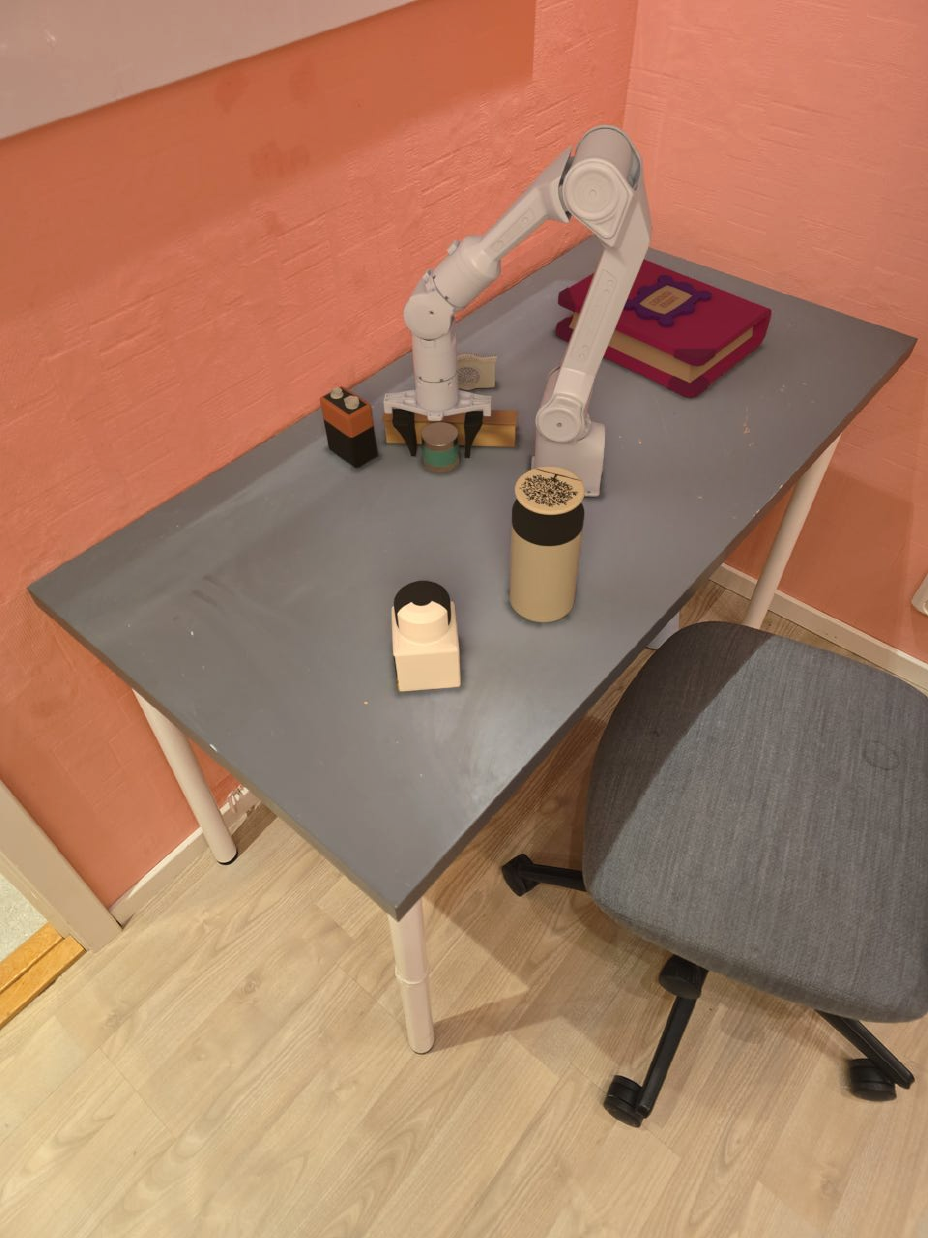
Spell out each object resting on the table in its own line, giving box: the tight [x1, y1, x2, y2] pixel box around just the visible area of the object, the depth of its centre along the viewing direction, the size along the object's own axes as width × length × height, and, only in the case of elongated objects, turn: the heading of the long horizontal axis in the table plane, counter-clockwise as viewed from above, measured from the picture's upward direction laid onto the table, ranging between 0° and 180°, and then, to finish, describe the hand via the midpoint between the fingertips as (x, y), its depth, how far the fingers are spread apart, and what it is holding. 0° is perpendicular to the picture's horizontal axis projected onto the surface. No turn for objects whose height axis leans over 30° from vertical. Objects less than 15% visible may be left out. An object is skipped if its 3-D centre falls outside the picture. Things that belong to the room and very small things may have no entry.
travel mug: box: [509, 467, 585, 623], centre depth 97 cm, size 8×8×18 cm
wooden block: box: [381, 409, 519, 448], centre depth 123 cm, size 19×4×4 cm, turn 85°
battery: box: [319, 385, 379, 469], centre depth 119 cm, size 4×7×10 cm, turn 43°
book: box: [555, 258, 773, 399], centre depth 137 cm, size 21×28×8 cm
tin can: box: [421, 422, 460, 474], centre depth 119 cm, size 5×5×5 cm
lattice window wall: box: [457, 352, 498, 391], centre depth 131 cm, size 12×2×6 cm, turn 92°
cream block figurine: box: [390, 580, 462, 692], centre depth 93 cm, size 7×7×12 cm
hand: (440, 453), depth 120 cm, fingers open, 7 cm apart
